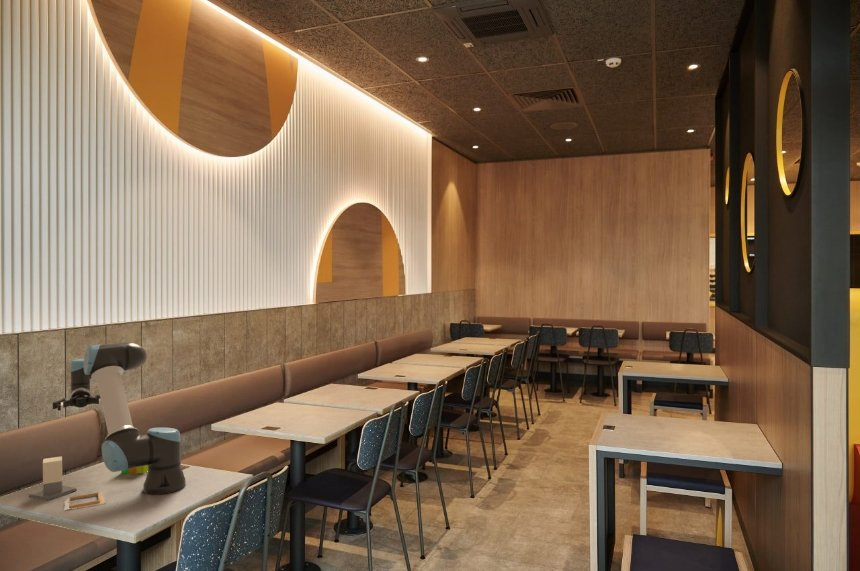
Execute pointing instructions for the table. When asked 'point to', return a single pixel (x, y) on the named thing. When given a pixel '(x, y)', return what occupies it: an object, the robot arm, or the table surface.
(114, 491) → the table surface
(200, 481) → the table surface
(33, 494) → the slate board
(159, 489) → the robot arm
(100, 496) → the tan square frame
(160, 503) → the table surface
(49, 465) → the beige and grey block
